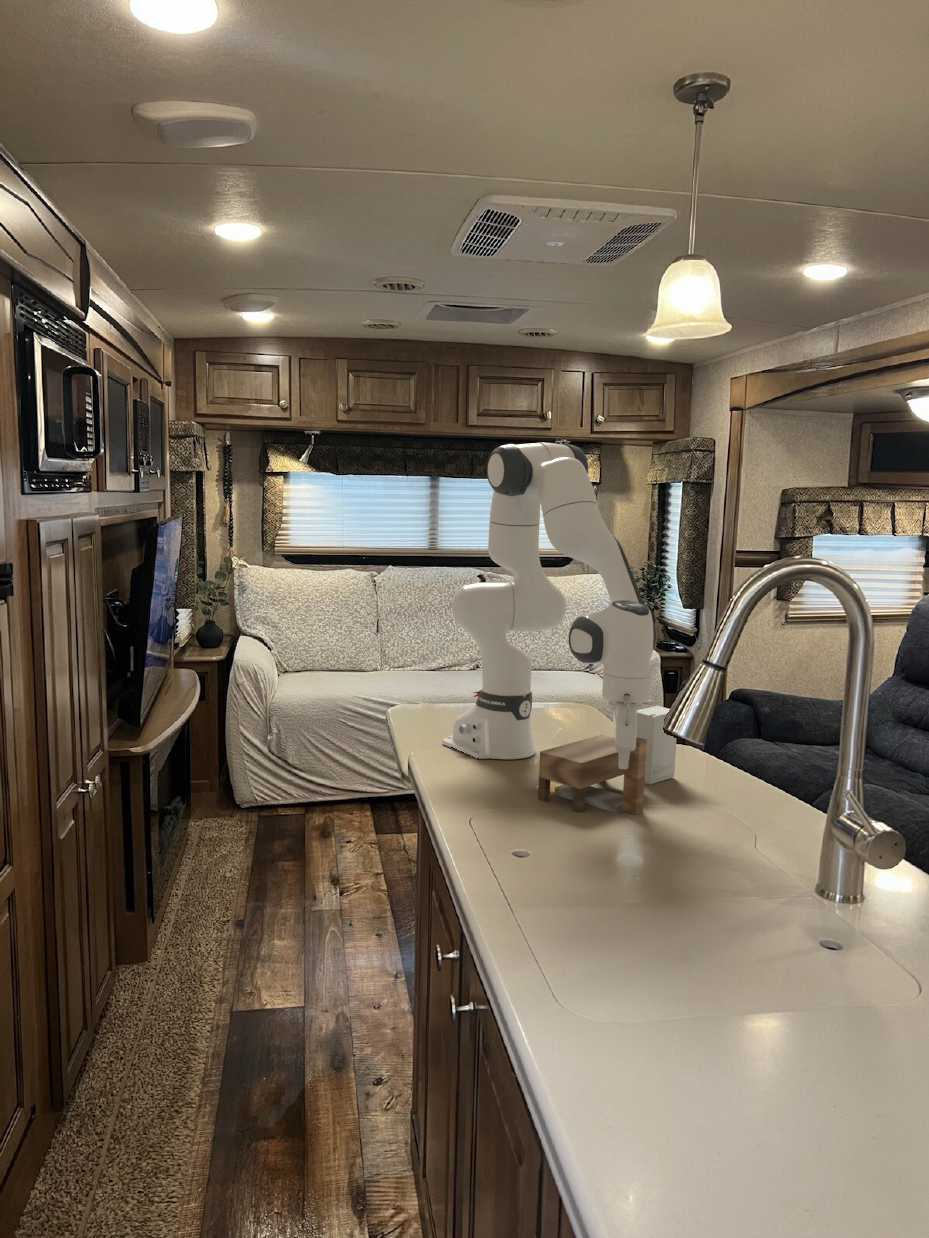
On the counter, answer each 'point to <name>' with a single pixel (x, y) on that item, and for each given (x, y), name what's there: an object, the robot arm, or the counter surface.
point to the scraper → (631, 788)
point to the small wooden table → (578, 767)
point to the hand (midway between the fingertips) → (622, 760)
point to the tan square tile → (551, 787)
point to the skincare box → (656, 744)
